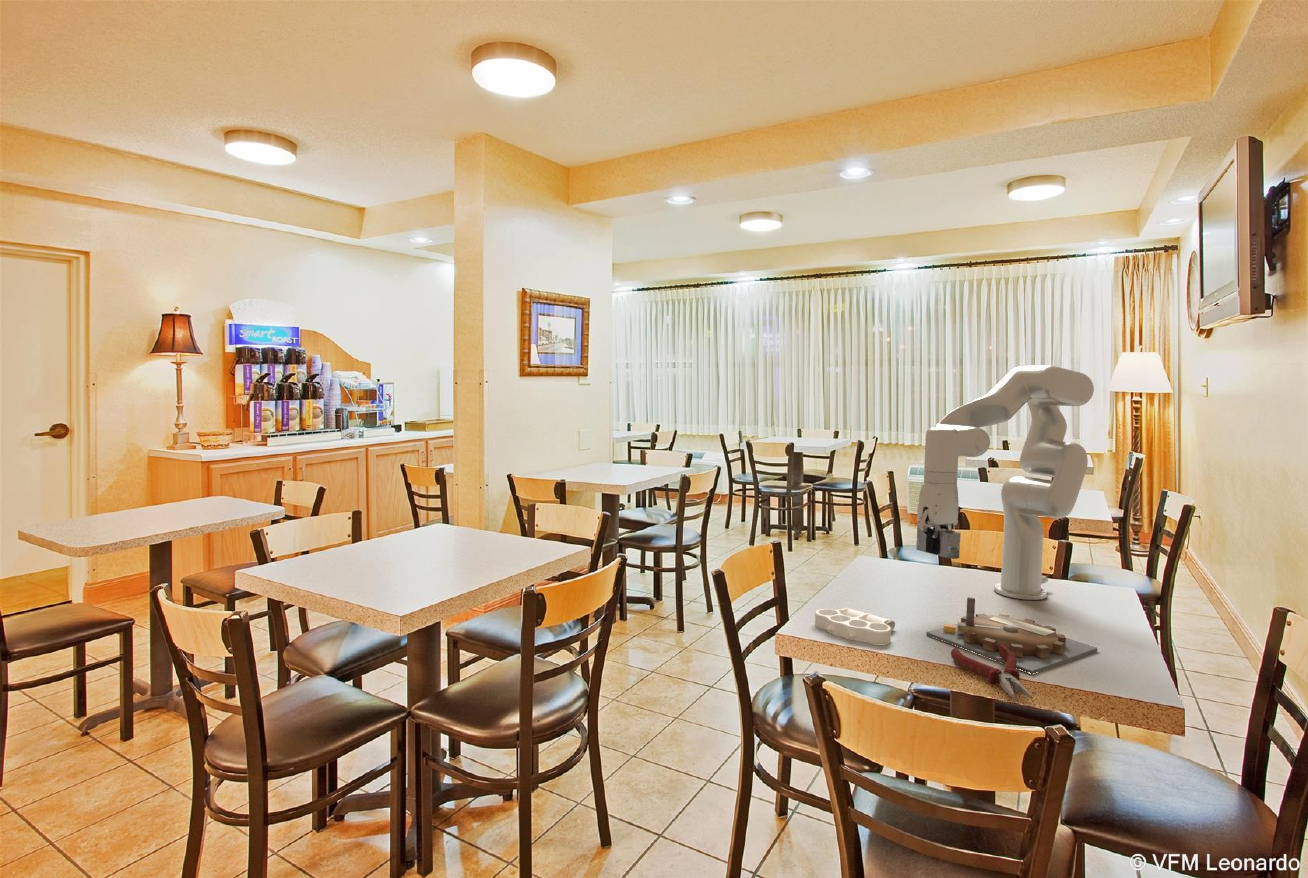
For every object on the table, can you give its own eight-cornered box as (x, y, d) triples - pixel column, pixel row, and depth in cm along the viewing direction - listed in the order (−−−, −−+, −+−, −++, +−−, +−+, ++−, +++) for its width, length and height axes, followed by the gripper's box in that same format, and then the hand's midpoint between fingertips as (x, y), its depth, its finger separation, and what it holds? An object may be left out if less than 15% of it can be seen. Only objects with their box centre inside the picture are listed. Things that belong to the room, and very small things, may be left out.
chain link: (922, 547, 175) (923, 523, 175) (962, 557, 166) (963, 532, 165) (913, 548, 174) (914, 525, 173) (953, 559, 164) (954, 534, 163)
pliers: (990, 705, 121) (989, 691, 121) (948, 657, 141) (948, 645, 141) (1057, 703, 121) (1057, 688, 120) (1006, 655, 141) (1005, 642, 140)
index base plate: (991, 617, 166) (991, 609, 166) (1097, 651, 146) (1097, 642, 146) (926, 635, 154) (926, 626, 154) (1032, 675, 134) (1032, 665, 133)
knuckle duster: (908, 635, 155) (875, 652, 145) (837, 615, 168) (803, 629, 158) (908, 620, 155) (875, 636, 145) (838, 601, 168) (803, 615, 158)
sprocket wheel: (954, 617, 163) (956, 584, 162) (1054, 629, 156) (1056, 594, 155) (961, 649, 144) (962, 611, 143) (1075, 664, 137) (1078, 624, 136)
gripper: (948, 474, 176) (945, 545, 177) (905, 478, 167) (902, 553, 169) (975, 477, 169) (972, 551, 171) (931, 482, 161) (928, 559, 162)
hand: (937, 551), depth 170 cm, fingers closed on chain link, 3 cm apart
